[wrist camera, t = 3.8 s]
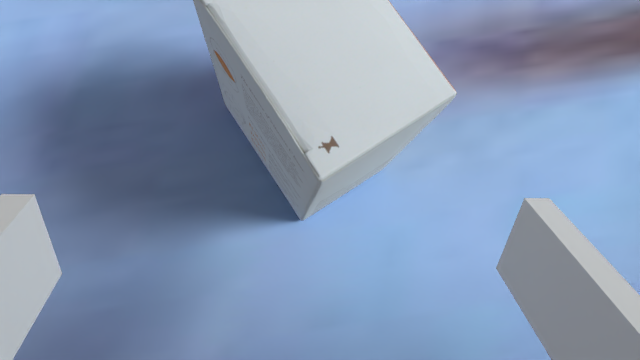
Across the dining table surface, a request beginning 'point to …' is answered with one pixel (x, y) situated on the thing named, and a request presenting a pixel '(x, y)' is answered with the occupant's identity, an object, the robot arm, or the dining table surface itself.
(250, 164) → the dining table surface
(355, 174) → the small box
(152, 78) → the dining table surface
